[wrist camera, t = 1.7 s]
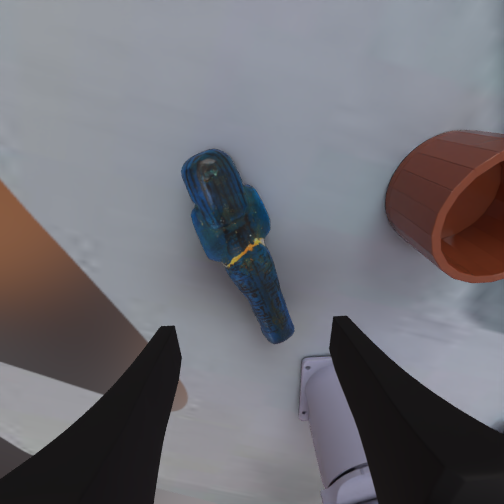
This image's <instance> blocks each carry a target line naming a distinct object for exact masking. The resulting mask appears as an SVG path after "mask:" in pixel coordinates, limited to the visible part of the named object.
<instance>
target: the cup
mask: <svg viewBox="0 0 504 504" xmlns="http://www.w3.org/2000/svg"><path fill="white" fill-rule="evenodd" d="M386 214H387V217H388V220H389V222H390V224H391V226H392V227H393V228H394V230H395V231H396V232H397V233H398V234H399V235H400V236H401V237H403V238H404V239H405V240H406V241H407V242H409V243H410V244H411V245H412V246H413V247H414V248H416V249H417V250H418V251H419V252H420V253H422V254H423V255H424V256H425V257H426V258H427V259H429V260H430V261H431V262H432V263H433V264H435V265H436V266H437V267H438V268H439V269H440V270H442V271H443V272H445V273H446V274H447V275H449V276H450V277H452V278H454V279H457V280H461V281H465V282H469V283H485V282H494V281H497V280H501V279H504V134H499V133H491V132H484V131H471V130H456V131H450V132H446V133H442V134H440V135H437V136H435V137H433V138H431V139H429V140H427V141H425V142H424V143H422V144H421V145H419V146H418V147H417V148H415V149H414V150H413V151H412V152H411V153H410V154H409V155H408V156H407V157H406V158H405V159H404V160H403V161H402V163H401V164H400V165H399V167H398V168H397V170H396V171H395V173H394V175H393V177H392V179H391V181H390V183H389V186H388V190H387V193H386Z"/></svg>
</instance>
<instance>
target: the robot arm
mask: <svg viewBox="0 0 504 504" xmlns="http://www.w3.org/2000/svg"><path fill="white" fill-rule="evenodd" d="M329 350H330V354H331V356H326V357H309V358H305V359H303V361H302V371H301V386H300V401H299V419H300V420H301V421H308V420H309V424H310V429H311V433H312V438H313V443H314V447H315V452H316V457H317V461H318V466H319V471H320V475H321V479H322V482H323V485H324V487H325V489H323V490H321V491H320V492H321V497H322V502H323V504H504V435H503V434H501V433H499V432H498V431H496V430H494V429H492V428H490V427H488V426H486V425H485V424H483V423H481V422H479V421H478V420H476V419H474V418H473V417H471V416H469V415H468V414H466V413H464V412H463V411H461V410H459V409H458V408H456V407H455V406H453V405H451V404H450V403H448V402H447V401H445V400H444V399H442V398H441V397H439V396H438V395H436V394H435V393H433V392H432V391H431V390H429V389H428V388H426V387H425V386H424V385H422V384H421V383H420V382H418V381H417V380H416V379H414V378H413V377H412V376H410V375H409V374H408V373H407V372H405V371H404V370H403V369H402V368H401V367H399V366H398V365H397V364H396V363H395V362H394V361H392V360H391V359H390V358H389V357H388V356H387V355H386V354H385V353H384V352H383V351H382V350H381V349H379V348H378V347H377V346H376V345H375V344H374V343H373V342H372V341H371V340H370V339H369V338H368V337H367V336H366V335H365V334H364V333H363V332H362V331H361V330H360V329H359V328H358V327H357V326H356V325H355V324H354V323H353V322H352V320H351V319H350V318H349V317H348V316H333V323H332V331H331V338H330V346H329ZM181 359H182V356H181V352H180V347H179V343H178V339H177V334H176V330H175V326H161V327H160V328H159V329H158V330H157V332H156V333H155V335H154V336H153V337H152V339H151V340H150V341H149V343H148V344H147V345H146V347H145V348H144V349H143V351H142V352H141V353H140V354H139V356H138V357H137V358H136V359H135V361H134V362H133V363H132V364H131V366H130V367H129V368H128V369H127V370H126V372H125V373H124V374H123V375H122V376H121V377H120V378H119V379H118V381H117V382H116V383H115V384H114V385H113V386H112V387H111V388H110V390H108V392H106V393H105V394H104V396H102V397H101V398H100V399H99V400H98V401H97V402H96V403H95V404H94V405H93V406H92V407H91V408H90V409H89V410H88V411H87V412H86V413H85V414H84V415H83V416H81V417H80V418H79V419H78V420H77V421H76V422H75V423H74V424H72V425H71V426H70V427H69V428H68V429H67V430H65V431H64V432H63V433H62V434H60V435H59V436H58V437H57V438H56V439H54V440H53V441H52V442H50V443H49V444H48V445H47V446H45V447H44V448H43V449H42V450H40V451H39V452H38V453H36V454H35V455H34V456H32V457H31V458H29V459H28V460H27V461H25V462H24V463H23V464H21V465H20V466H18V467H17V468H15V469H14V470H12V471H11V472H10V473H8V474H7V475H5V476H4V477H3V478H1V479H0V504H154V496H155V490H156V483H157V477H158V470H159V464H160V458H161V452H162V446H163V440H164V436H165V431H166V427H167V424H168V420H169V416H170V412H171V408H172V404H173V401H174V397H175V393H176V389H177V384H178V381H179V374H180V367H181Z"/></svg>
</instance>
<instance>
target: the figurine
mask: <svg viewBox="0 0 504 504" xmlns="http://www.w3.org/2000/svg"><path fill="white" fill-rule="evenodd" d="M181 173H182V178H183V181H184V183H185V185H186V188H187V190H188V193H189V195H190V197H191V199H192V201H193V203H194V204H195V208H194V209H193V210H192V213H191V217H192V222H193V225H194V227H195V230H196V232H197V235H198V237H199V239H200V242H201V244H202V247H203V249H204V251H205V253H206V255H207V257H208V258H209V259H211V260H214V261H218V262H221V263H222V264H223V265H224V267H225V269H226V271H227V273H228V275H229V277H230V278H231V279H232V281H233V282H234V284H235V285H236V286H237V287H238V288H239V290H240V291H241V292H242V293H243V294H244V295H245V297H246V298H247V299H248V301H249V303H250V305H251V307H252V310H253V312H254V314H255V316H256V317H257V320H258V322H259V323H260V326H261V330H262V333H263V334H264V336H265V337H266V338H267V340H268V341H269V342H271V343H273V344H278V343H282V342H284V341H285V340H287V339H288V338H289V337H291V336H292V335H293V333H294V325H293V323H292V320H291V318H290V315H289V313H288V310H287V307H286V303H285V300H284V298H283V295H282V293H281V289H280V285H279V280H278V277H277V273H276V270H275V266H274V263H273V260H272V257H271V255H270V252H269V250H268V248H267V247H266V245H265V244H264V239H265V237H266V235H267V234H268V233H269V231H270V219H269V216H268V213H267V211H266V209H265V207H264V204H263V202H262V201H261V199H260V197H259V195H258V193H257V192H256V190H255V189H254V188H253V187H251V186H249V185H243V184H242V179H241V177H240V175H239V172H238V171H237V168H236V166H235V164H234V163H233V161H232V159H231V158H230V157H229V156H228V155H227V154H226V153H224V152H223V151H220V150H217V149H209V150H206V151H204V152H201V153H199V154H197V155H195V156H193V157H191V158H190V159H188V160H187V161H186V162H185V163H184V165H183V166H182V170H181Z"/></svg>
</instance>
